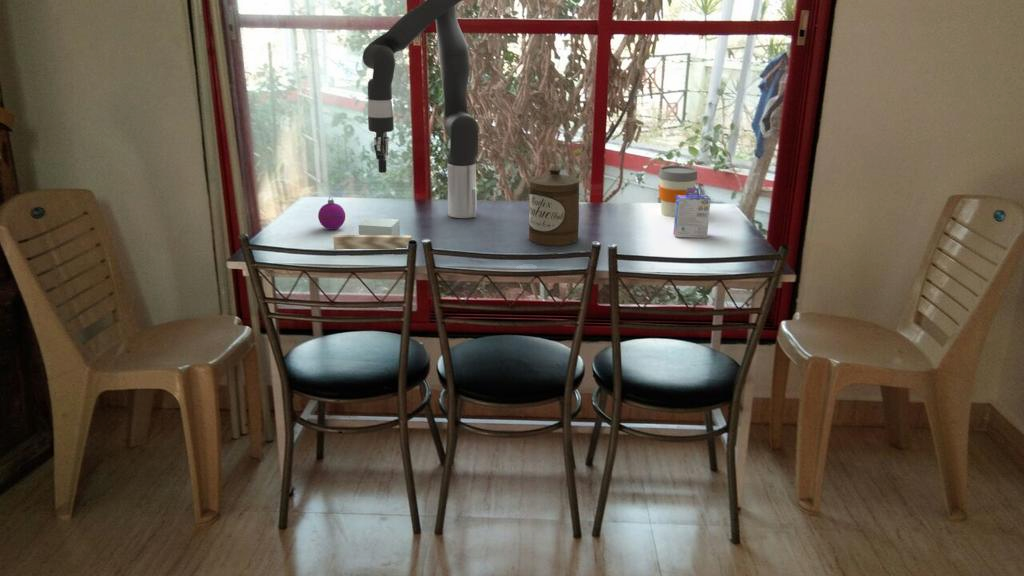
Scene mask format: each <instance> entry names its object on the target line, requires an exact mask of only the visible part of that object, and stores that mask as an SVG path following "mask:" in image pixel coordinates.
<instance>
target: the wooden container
mask: <svg viewBox="0 0 1024 576" xmlns="http://www.w3.org/2000/svg"><path fill="white" fill-rule="evenodd" d="M548 172H549V174H539V175H535V176H532V177H530V179H529V207H528V208H529V210H528V239H529V241H531V242H533V243H535V244H539V245H542V244H543V245H544V246H566V245H570V244H574V243H577V241H578V240H579V227H580V226H579V222H580V179H579V178H578V177H576V176H572V175H567V174H561V168H560V167H559V166H557V165H552V166H550V167H549V168H548Z"/></svg>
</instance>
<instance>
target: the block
mask: <svg viewBox="0 0 1024 576" xmlns="http://www.w3.org/2000/svg"><path fill="white" fill-rule="evenodd" d="M400 227H401V226H400V219H392V218H391V219H388V218H373V217H367V218H365V220H363V221H361V223H359V224H358V235H401V232H400V230H401V229H400Z"/></svg>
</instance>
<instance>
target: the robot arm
mask: <svg viewBox="0 0 1024 576" xmlns="http://www.w3.org/2000/svg"><path fill="white" fill-rule="evenodd" d="M462 1H463V0H425V1H423V2H422V3H421V4H418V6H416V7H414V8H413V9H411V10H409V11H408V12H407V13H406V14H405V13H404V15H403V16H401V18H399V19H398V20H397V22H395V23H394V24H393V25H392V26H391V27H390V28H389V29H388V30H387V31H386V32H385V33H383V34H381V35H380V36H378V37H377V38H376V39H374V40H373V41H372V42H370V43H369V44H368V45H367V46H366V48H365V49H364V50H363V53H362V61H363V64H364V65H365V66H366V67H367V68H369V69H371V70H372V78H371V79H369V80H368V82H367V124H368V131H369V132H370V133H371V132H373V133H375V137H374V138H373V143H374V146H373V147H374V152H375V157H376V160H377V161H378V173H381V174H382V173H383V174H384V173H386V172H387V170H388V169H387V167H388V166H387V160H388V156H389V144H390V143H389V142H390V137H389V136H388V133H390V132H393V131H394V130H395V124H394V122H395V121H394V104H393V103H394V102H393V91H392V90H393V88H392V85H393V80H394V75H395V69H396V58H395V53H397V52H402V51H404V50H405V49H407V48H408V47H409V46H410V44H411V43H413V42H414V41H415V39H417V38H418V37H419V36H420V35H421V34H422V33H423V32H424V31H425V30H426V29H427V28H428V27H429V26H431V24H432V23H434V22H435V26H436V27H435V29H436V36H437V37H436V38H437V45H438V46H437V47H438V62H439V69H440V77H441V78H440V79H441V85H442V93H443V103H444V104H443V105H444V107H443V110H444V112H443V129H444V131H445V134H446V135H447V136H448V138H450V139H449V140H450V141H449V142H450V143H449V144H450V145H449V147H450V150H449V153H448V155H447V156H446V158H447V159H446V160H447V161H446V162H447V207H448V208H447V212H448V213H447V214H448V217H450V218H455V219H469V218H476V217H477V208H478V207H477V205H478V203H477V202H478V201H477V198H478V197H477V193H478V191H477V190H478V189H477V157H478V153H479V126H478V121H476V118H474V117H473V116H471V115H470V114H469V109H468V103H467V88H468V83H469V77H470V55H469V54H470V53H469V48H468V44H467V40H466V39H465V36H464V34H463V31H462V29H461V27H460V25H459V21H458V18H457V7H456V6H457V5H458V4H460V2H462Z"/></svg>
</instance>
